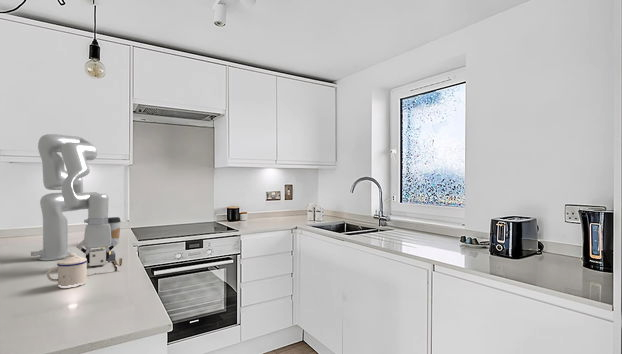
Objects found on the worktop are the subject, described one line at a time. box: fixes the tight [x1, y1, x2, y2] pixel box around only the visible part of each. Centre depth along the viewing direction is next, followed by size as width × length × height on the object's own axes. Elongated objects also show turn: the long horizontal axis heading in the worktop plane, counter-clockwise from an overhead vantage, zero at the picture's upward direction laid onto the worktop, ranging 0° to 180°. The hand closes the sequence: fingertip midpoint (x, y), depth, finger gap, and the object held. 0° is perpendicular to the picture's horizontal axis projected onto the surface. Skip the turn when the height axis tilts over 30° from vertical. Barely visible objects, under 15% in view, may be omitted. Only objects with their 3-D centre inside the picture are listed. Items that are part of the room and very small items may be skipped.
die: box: [88, 247, 107, 267], centre depth 147 cm, size 6×6×6 cm
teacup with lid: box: [46, 252, 88, 286], centre depth 121 cm, size 12×9×12 cm
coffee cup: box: [108, 216, 121, 245], centre depth 194 cm, size 8×8×15 cm
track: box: [112, 257, 123, 266], centre depth 143 cm, size 17×19×3 cm
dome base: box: [107, 250, 116, 261], centre depth 156 cm, size 8×8×3 cm
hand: (97, 261), depth 147 cm, fingers closed on die, 6 cm apart
